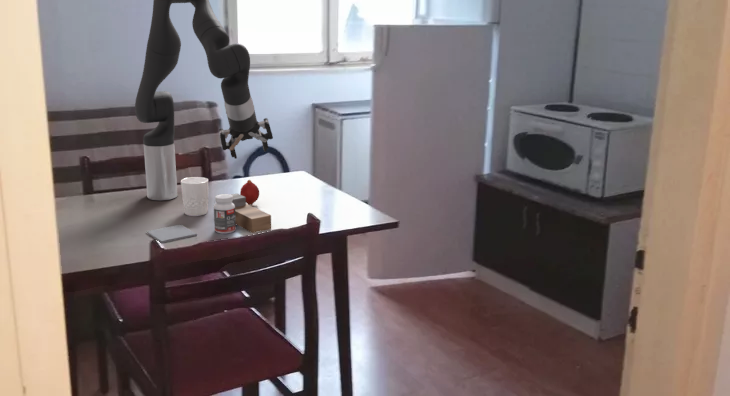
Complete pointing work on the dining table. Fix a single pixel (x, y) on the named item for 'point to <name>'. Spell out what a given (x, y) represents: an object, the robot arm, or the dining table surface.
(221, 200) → the pill bottle
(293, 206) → the dining table surface
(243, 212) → the wooden block
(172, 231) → the grey pad
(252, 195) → the onion
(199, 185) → the white cup
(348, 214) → the dining table surface
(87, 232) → the dining table surface
